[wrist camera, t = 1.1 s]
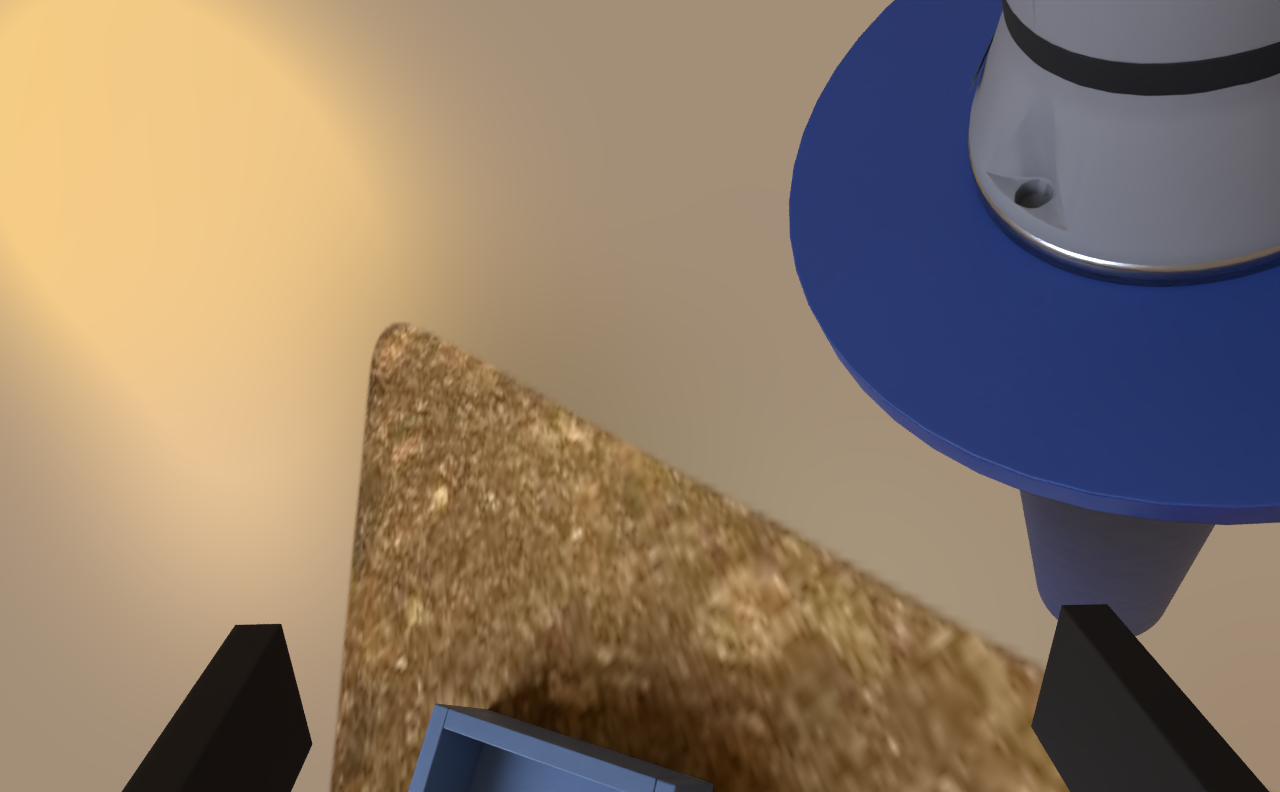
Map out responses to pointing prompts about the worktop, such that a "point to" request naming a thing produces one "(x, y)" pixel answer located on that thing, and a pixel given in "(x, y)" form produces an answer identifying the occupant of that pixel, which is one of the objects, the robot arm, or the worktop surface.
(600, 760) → the blue bin
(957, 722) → the worktop surface
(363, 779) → the worktop surface
